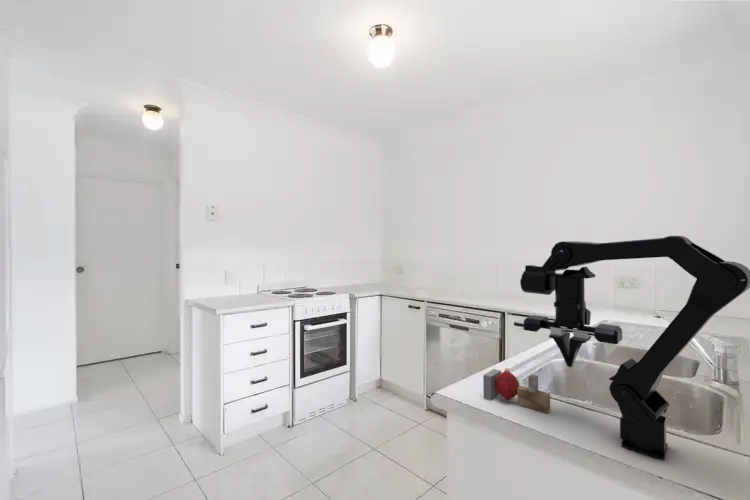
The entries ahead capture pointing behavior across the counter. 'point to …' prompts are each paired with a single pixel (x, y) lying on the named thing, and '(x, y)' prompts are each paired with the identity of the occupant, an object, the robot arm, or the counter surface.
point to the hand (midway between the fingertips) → (570, 366)
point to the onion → (507, 385)
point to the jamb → (490, 384)
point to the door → (533, 396)
